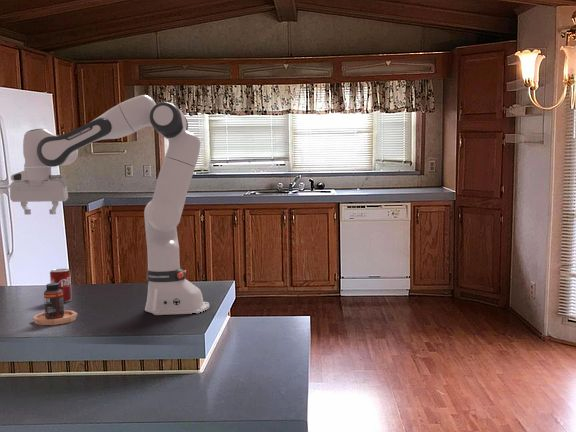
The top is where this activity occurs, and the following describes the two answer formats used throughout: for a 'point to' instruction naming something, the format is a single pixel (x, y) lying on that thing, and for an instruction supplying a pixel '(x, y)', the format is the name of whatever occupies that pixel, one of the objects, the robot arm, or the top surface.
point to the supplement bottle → (53, 301)
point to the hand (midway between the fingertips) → (40, 214)
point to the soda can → (62, 282)
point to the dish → (67, 318)
